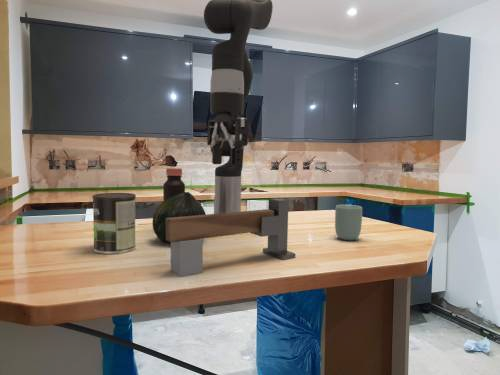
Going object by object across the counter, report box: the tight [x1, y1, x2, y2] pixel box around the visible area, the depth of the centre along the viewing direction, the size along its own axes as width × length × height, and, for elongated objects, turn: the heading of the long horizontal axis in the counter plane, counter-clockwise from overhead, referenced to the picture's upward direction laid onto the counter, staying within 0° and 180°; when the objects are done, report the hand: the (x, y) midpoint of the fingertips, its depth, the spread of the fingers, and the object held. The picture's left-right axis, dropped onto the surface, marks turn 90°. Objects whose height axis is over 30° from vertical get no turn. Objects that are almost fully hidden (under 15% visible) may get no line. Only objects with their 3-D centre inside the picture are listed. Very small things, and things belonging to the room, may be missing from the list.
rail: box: [166, 208, 274, 244], centre depth 82 cm, size 3×26×4 cm, turn 124°
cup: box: [334, 204, 363, 241], centre depth 110 cm, size 8×8×10 cm
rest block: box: [170, 239, 204, 277], centre depth 77 cm, size 5×5×7 cm
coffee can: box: [92, 192, 137, 255], centre depth 94 cm, size 10×10×14 cm
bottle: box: [162, 167, 186, 202], centre depth 117 cm, size 7×7×20 cm
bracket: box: [249, 197, 296, 261], centre depth 89 cm, size 8×10×14 cm
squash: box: [152, 191, 207, 243], centre depth 104 cm, size 14×15×15 cm
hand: (225, 165), depth 84 cm, fingers open, 8 cm apart
